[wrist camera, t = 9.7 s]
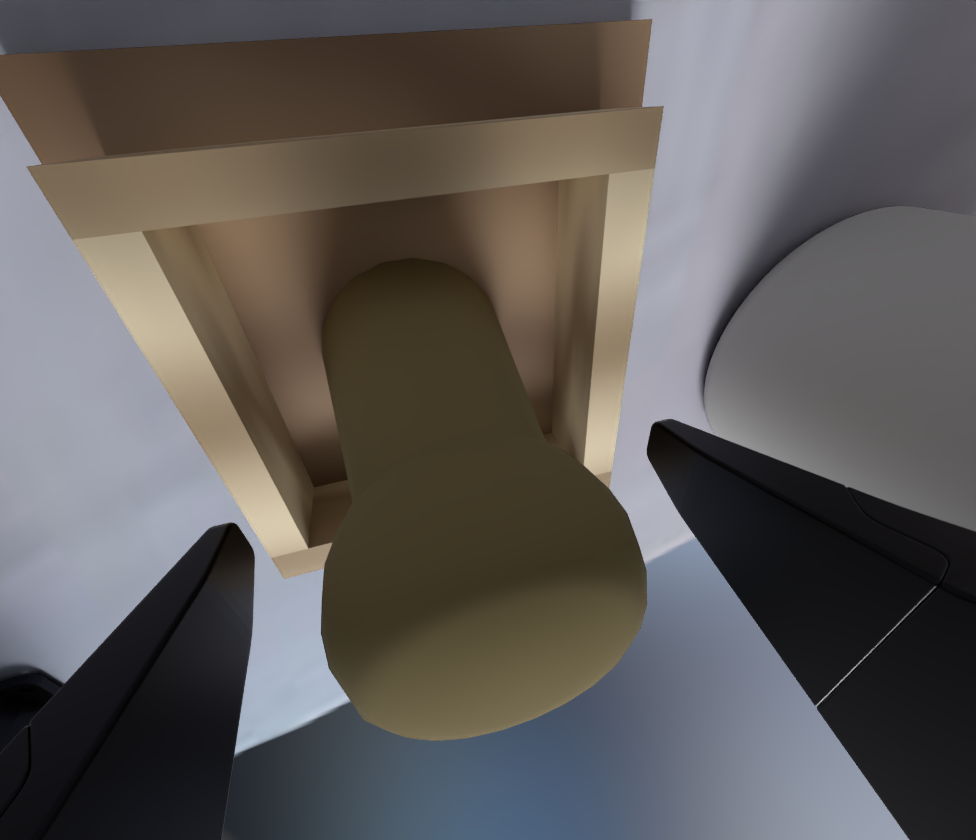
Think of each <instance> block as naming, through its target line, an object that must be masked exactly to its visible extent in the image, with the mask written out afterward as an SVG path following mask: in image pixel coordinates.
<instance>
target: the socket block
mask: <svg viewBox="0 0 976 840" xmlns="http://www.w3.org/2000/svg"><path fill="white" fill-rule="evenodd" d="M651 24H652V19H647V20H628V21H610V22H592V23H574V24H556V25H537V26H519V27H501V28H483V29H464V30H446V31H428V32H410V33H391V34H373V35H355V36H337V37H318V38H300V39H282V40H264V41H245V42H227V43H209V44H191V45H173V46H154V47H136V48H118V49H100V50H81V51H63V52H45V53H27V54H8V55H0V96H1V97H2V99H3V101H4V102H5V104H6V105H7V107H8V109H9V110H10V112H11V114H12V115H13V117H14V119H15V120H16V122H17V124H18V125H19V127H20V129H21V130H22V132H23V134H24V135H25V137H26V139H27V140H28V142H29V144H30V145H31V147H32V149H33V150H34V152H35V154H36V155H37V157H38V158H39V160H40V162H41V163H42V165H36V166H28V167H27V168H28V170H29V172H30V173H31V175H32V176H33V178H34V180H35V181H36V183H37V184H38V186H39V188H40V189H41V191H42V192H43V194H44V196H45V197H46V199H47V200H48V202H49V204H50V205H51V207H52V208H53V210H54V212H55V213H56V215H57V216H58V218H59V220H60V221H61V223H62V224H63V226H64V228H65V229H66V231H67V232H68V234H69V236H70V237H71V239H72V240H73V242H74V244H75V245H76V247H77V248H78V250H79V252H80V253H81V255H82V256H83V258H84V260H85V261H86V263H87V264H88V266H89V268H90V269H91V271H92V272H93V274H94V276H95V277H96V279H97V280H98V282H99V284H100V285H101V287H102V288H103V290H104V292H105V293H106V295H107V296H108V298H109V300H110V301H111V303H112V304H113V306H114V308H115V309H116V311H117V312H118V314H119V316H120V317H121V319H122V320H123V322H124V324H125V325H126V327H127V328H128V330H129V332H130V333H131V335H132V336H133V338H134V340H135V341H136V343H137V344H138V346H139V348H140V349H141V351H142V352H143V354H144V356H145V357H146V359H147V360H148V362H149V364H150V365H151V367H152V368H153V370H154V372H155V373H156V375H157V376H158V378H159V380H160V381H161V383H162V384H163V386H164V388H165V389H166V391H167V392H168V394H169V396H170V397H171V399H172V400H173V402H174V404H175V405H176V407H177V408H178V410H179V412H180V413H181V415H182V416H183V418H184V420H185V421H186V423H187V424H188V426H189V428H190V429H191V431H192V432H193V434H194V436H195V437H196V439H197V440H198V442H199V444H200V445H201V447H202V448H203V450H204V452H205V453H206V455H207V456H208V458H209V460H210V461H211V463H212V464H213V466H214V468H215V469H216V471H217V472H218V474H219V476H220V477H221V479H222V480H223V482H224V484H225V485H226V487H227V488H228V490H229V492H230V493H231V495H232V496H233V498H234V500H235V501H236V503H237V504H238V506H239V508H240V509H241V511H242V512H243V514H244V516H245V517H246V519H247V520H248V522H249V524H250V525H251V527H252V528H253V530H254V532H255V533H256V535H257V537H258V538H259V540H260V541H261V543H262V545H263V546H264V548H265V549H266V551H267V553H268V554H269V556H270V557H271V559H272V561H273V562H274V564H275V565H276V567H277V569H278V570H279V572H280V573H281V575H282V577H283V578H284V579H286V578H289V577H293V576H297V575H301V574H305V573H308V572H312V571H316V570H320V569H323V568H324V564H325V561H326V559H327V556H328V553H329V551H330V548H331V545H332V543H333V540H334V537H335V535H336V532H337V531H338V529H339V527H340V525H341V523H342V521H343V519H344V518H345V516H346V514H347V512H348V510H349V508H350V506H351V505H352V503H353V502H352V497H351V492H350V487H349V482H348V478H347V473H346V468H345V463H344V458H343V453H342V449H341V444H340V439H339V434H338V429H337V424H336V420H335V415H334V410H333V405H332V400H331V395H330V391H329V386H328V381H327V376H326V371H325V366H324V362H323V357H322V327H323V324H324V322H325V319H326V317H327V314H328V312H329V309H330V307H331V304H332V302H333V300H334V299H335V297H336V296H337V295H338V294H339V293H340V292H341V291H342V290H343V289H344V288H345V287H346V285H347V284H348V283H349V282H350V281H351V280H352V279H353V278H354V277H355V276H357V275H359V274H361V273H363V272H365V271H367V270H369V269H371V268H373V267H374V266H376V265H378V264H380V263H382V262H388V261H395V260H401V259H408V258H419V259H425V260H430V261H436V262H442V263H445V264H447V265H449V266H451V267H453V268H455V269H456V270H458V271H460V272H462V273H464V274H466V275H467V276H469V277H471V279H472V280H473V281H474V282H475V283H476V284H477V285H478V286H479V287H480V288H481V290H482V291H483V292H484V293H485V294H486V295H487V296H488V297H489V300H490V302H491V304H492V307H493V309H494V311H495V314H496V316H497V318H498V321H499V323H500V326H501V328H502V331H503V333H504V336H505V339H506V341H507V344H508V346H509V349H510V351H511V354H512V356H513V359H514V362H515V364H516V367H517V369H518V372H519V374H520V377H521V379H522V382H523V385H524V387H525V390H526V392H527V395H528V397H529V400H530V403H531V405H532V408H533V410H534V413H535V415H536V418H537V420H538V423H539V426H540V428H541V431H542V433H543V436H544V438H545V441H546V443H547V444H550V445H553V446H556V447H558V448H561V449H563V450H564V451H566V452H567V453H568V454H570V455H571V456H572V457H573V458H575V459H576V460H577V461H579V462H580V463H581V464H583V465H584V466H585V467H586V468H587V469H588V470H589V471H590V472H592V473H593V474H594V475H595V476H596V477H597V478H598V479H599V480H600V481H601V482H603V483H604V484H605V485H606V486H607V487H608V488H609V486H610V479H611V472H612V465H613V458H614V451H615V444H616V437H617V430H618V423H619V416H620V409H621V402H622V395H623V388H624V381H625V374H626V367H627V360H628V353H629V346H630V339H631V332H632V325H633V318H634V310H635V303H636V296H637V289H638V282H639V275H640V268H641V261H642V254H643V247H644V240H645V233H646V226H647V219H648V212H649V205H650V198H651V191H652V184H653V177H654V170H655V163H656V156H657V149H658V142H659V135H660V128H661V121H662V114H663V107H664V106H660V107H642V101H643V92H644V84H645V75H646V67H647V58H648V50H649V41H650V33H651Z"/></svg>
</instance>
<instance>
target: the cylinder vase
mask: <svg viewBox="0 0 976 840" xmlns="http://www.w3.org/2000/svg"><path fill="white" fill-rule="evenodd" d="M704 407H705V413H706V417H707V421H708V423H709V426H710V428H711V430H712V431H713V433H714V434H715V436H718V437H720V438H723V439H725V440H728V441H731V442H733V443H736V444H739V445H741V446H744V447H746V448H749V449H752V450H754V451H757V452H759V453H762V454H765V455H767V456H770V457H772V458H775V459H778V460H780V461H783V462H786V463H788V464H791V465H793V466H796V467H799V468H801V469H804V470H806V471H809V472H812V473H814V474H817V475H819V476H822V477H825V478H827V479H830V480H832V481H835V482H838V483H840V484H843V485H845V487H851V488H854V489H856V490H859V491H861V492H864V493H866V494H869V495H872V496H874V497H877V498H880V499H882V500H885V501H888V502H891V503H893V504H896V505H899V506H902V507H904V508H907V509H910V510H913V511H916V512H919V513H922V514H925V515H928V516H931V517H934V518H937V519H940V520H943V521H946V522H949V523H952V524H955V525H958V526H961V527H964V528H967V529H970V530H973V531H976V216H973V215H967V214H960V213H953V212H947V211H940V210H933V209H927V208H920V207H912V206H892V207H885V208H879V209H874V210H870V211H867V212H863V213H860V214H857V215H855V216H852V217H849V218H847V219H845V220H842V221H840V222H838V223H836V224H834V225H832V226H830V227H828V228H827V229H825V230H823V231H821V232H820V233H818V234H816V235H815V236H813V237H812V238H810V239H809V240H807V241H806V242H804V243H803V244H802V245H800V246H799V247H798V248H796V249H795V250H794V251H792V252H791V253H790V254H789V255H787V256H786V257H785V258H784V259H783V260H782V261H780V262H779V263H778V264H777V265H776V266H775V267H774V268H773V269H772V270H771V271H770V272H769V273H768V274H767V275H766V276H765V277H764V278H763V279H762V280H761V281H760V282H759V283H758V284H757V285H756V287H755V288H754V289H753V290H752V291H751V292H750V294H749V295H748V296H747V297H746V299H745V300H744V301H743V303H742V304H741V305H740V307H739V308H738V309H737V311H736V312H735V314H734V315H733V317H732V318H731V320H730V322H729V323H728V325H727V327H726V328H725V330H724V332H723V334H722V336H721V338H720V340H719V342H718V344H717V346H716V348H715V351H714V353H713V356H712V358H711V361H710V364H709V368H708V371H707V376H706V381H705V388H704Z"/></svg>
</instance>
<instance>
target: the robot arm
mask: <svg viewBox="0 0 976 840" xmlns="http://www.w3.org/2000/svg"><path fill="white" fill-rule="evenodd" d="M647 456H648V459H649V461H650V463H651V464H652V466H653V468H654V470H655V472H656V473H657V475H658V477H659V479H660V481H661V482H662V484H663V486H664V488H665V489H666V491H667V493H668V495H669V497H670V498H671V500H672V502H673V504H674V505H675V507H676V509H677V510H678V512H679V514H680V515H681V517H682V518H683V520H684V521H685V523H686V524H687V525H688V527H689V528H690V530H691V531H692V533H693V534H694V535H695V537H696V538H697V540H698V541H699V542H700V544H701V545H702V547H703V548H704V550H705V551H706V552H707V554H708V555H709V557H710V558H711V559H712V561H713V562H714V564H715V565H716V566H717V568H718V569H719V571H720V572H721V574H722V575H723V576H724V578H725V579H726V580H727V582H728V583H729V585H730V586H731V588H732V589H733V590H734V592H735V593H736V595H737V596H738V598H739V599H740V600H741V602H742V603H743V605H744V606H745V607H746V609H747V610H748V612H749V613H750V615H751V616H752V617H753V619H754V620H755V621H756V623H757V624H758V626H759V627H760V629H761V630H762V631H763V633H764V634H765V636H766V637H767V639H768V640H769V641H770V643H771V644H772V646H773V647H774V648H775V650H776V651H777V653H778V654H779V656H780V657H781V658H782V660H783V661H784V663H785V664H786V665H787V667H788V668H789V670H790V671H791V673H792V674H793V675H794V677H795V678H796V680H797V681H798V682H799V684H800V685H801V687H802V688H803V689H804V691H805V692H806V694H807V695H808V697H809V698H810V699H811V701H812V702H813V704H814V705H815V706H817V710H818V711H819V713H820V714H821V715H822V717H823V718H824V720H825V721H826V722H827V724H828V725H829V727H830V728H831V729H832V731H833V732H834V734H835V735H836V737H837V738H838V739H839V741H840V742H841V744H842V745H843V746H844V748H845V749H846V751H847V752H848V754H849V755H850V756H851V758H852V759H853V761H854V762H855V763H856V765H857V766H858V768H859V769H860V770H861V772H862V773H863V775H864V776H865V777H866V779H867V780H868V782H869V783H870V785H871V786H872V787H873V789H874V790H875V792H876V793H877V795H878V796H879V797H880V798H881V800H882V801H883V803H884V804H885V806H886V807H887V809H888V810H889V811H890V813H891V814H892V816H893V817H894V819H895V820H896V821H897V823H898V824H899V826H900V827H901V828H902V830H903V831H904V833H905V834H906V835H907V837H908V838H909V840H976V531H973V530H970V529H967V528H964V527H961V526H958V525H955V524H952V523H949V522H946V521H943V520H940V519H937V518H934V517H931V516H928V515H925V514H922V513H919V512H916V511H913V510H910V509H907V508H904V507H902V506H899V505H896V504H893V503H891V502H888V501H885V500H882V499H880V498H877V497H874V496H872V495H869V494H866V493H864V492H861V491H859V490H856V489H854V488H851V487H845V485H843V484H840V483H838V482H835V481H832V480H830V479H827V478H825V477H822V476H819V475H817V474H814V473H812V472H809V471H806V470H804V469H801V468H799V467H796V466H793V465H791V464H788V463H786V462H783V461H780V460H778V459H775V458H772V457H770V456H767V455H765V454H762V453H759V452H757V451H754V450H752V449H749V448H746V447H744V446H741V445H739V444H736V443H733V442H731V441H728V440H725V439H723V438H720V437H718V436H715V435H712V434H710V433H707V432H705V431H702V430H699V429H697V428H694V427H692V426H689V425H686V424H684V423H681V422H678V421H676V420H673V419H666V420H662V421H658V422H655V423H654V424H653V425H652V427H651V431H650V436H649V441H648V446H647ZM254 567H255V556H254V551H253V549H252V547H251V545H250V543H249V542H248V540H247V539H246V537H245V536H244V534H243V533H242V531H241V530H240V528H239V527H238V526H237V524H235V523H226V524H222V525H217V526H213V527H211V528H209V529H208V530H207V531H206V532H205V533H204V534H203V535H202V536H201V537H200V538H199V540H198V541H197V542H196V543H195V544H194V545H193V546H192V547H191V548H190V549H189V550H188V551H187V552H186V554H185V555H184V556H183V557H182V558H181V559H180V560H179V561H178V562H177V563H176V564H175V565H174V566H173V568H172V569H171V570H170V571H169V572H168V573H167V574H166V575H165V576H164V577H163V578H162V579H161V580H160V582H159V583H158V584H157V585H156V586H155V587H154V588H153V589H152V590H151V591H150V592H149V593H148V594H147V596H146V597H145V598H144V599H143V600H142V601H141V602H140V603H139V604H138V605H137V606H136V607H135V608H134V610H133V611H132V612H131V613H130V614H129V615H128V616H127V617H126V618H125V619H124V620H123V621H122V622H121V624H120V625H119V626H118V627H117V628H116V629H115V630H114V631H113V632H112V633H111V634H110V635H109V636H108V638H107V639H106V640H105V641H104V642H103V643H102V644H101V645H100V646H99V647H98V648H97V649H96V650H95V652H94V653H93V654H92V655H91V656H90V657H89V658H88V659H87V660H86V661H85V662H84V663H83V664H82V666H81V667H80V668H79V669H78V670H77V671H76V672H75V673H74V674H73V675H72V676H71V677H70V678H69V680H68V681H67V682H66V683H65V684H64V685H63V686H62V687H59V686H58V685H56V684H55V683H53V682H51V681H50V680H48V679H47V678H45V677H43V676H41V675H35V674H29V675H24V676H20V677H16V678H13V679H9V680H5V681H2V682H0V840H221V837H222V831H223V825H224V818H225V812H226V805H227V799H228V792H229V785H230V778H231V772H232V765H233V759H234V752H235V746H236V739H237V732H238V726H239V719H240V713H241V706H242V699H243V693H244V686H245V680H246V673H247V666H248V660H249V653H250V646H251V638H252V627H253V600H254Z"/></svg>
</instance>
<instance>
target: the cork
mask: <svg viewBox="0 0 976 840" xmlns="http://www.w3.org/2000/svg"><path fill="white" fill-rule="evenodd" d="M322 357H323V362H324V366H325V371H326V376H327V381H328V386H329V391H330V395H331V400H332V405H333V410H334V415H335V420H336V424H337V429H338V434H339V439H340V444H341V449H342V453H343V458H344V463H345V468H346V473H347V478H348V482H349V487H350V492H351V497H352V502H353V503H352V505H351V506H350V508H349V510H348V512H347V514H346V516H345V518H344V519H343V521H342V523H341V525H340V527H339V529H338V531H337V532H336V535H335V537H334V540H333V543H332V545H331V548H330V551H329V553H328V556H327V559H326V561H325V564H324V578H323V591H322V613H321V636H322V640H323V644H324V649H325V653H326V657H327V662H328V666H329V669H330V671H331V672H332V674H333V675H334V677H335V678H336V680H337V681H338V683H339V684H340V686H341V687H342V689H343V690H344V692H345V693H346V695H347V696H348V698H349V699H350V701H351V702H352V703H353V705H354V706H355V708H356V709H357V711H358V712H359V714H360V715H361V717H362V718H363V720H365V721H367V722H369V723H372V724H374V725H376V726H378V727H380V728H383V729H385V730H387V731H389V732H392V733H395V734H398V735H401V736H404V737H407V738H415V739H423V740H433V741H439V740H451V739H462V738H470V737H475V736H479V735H483V734H488V733H492V732H496V731H501V730H503V729H506V728H509V727H512V726H515V725H518V724H521V723H523V722H526V721H529V720H532V719H535V718H537V717H539V716H541V715H543V714H545V713H547V712H549V711H551V710H553V709H555V708H557V707H559V706H561V705H563V704H565V703H567V702H569V701H570V700H572V699H573V698H575V697H576V696H578V695H579V694H581V693H582V692H584V691H585V690H587V689H589V688H590V687H592V686H593V685H594V684H595V683H597V682H598V681H599V680H600V679H601V678H602V677H603V676H604V675H606V674H607V673H608V672H609V671H610V670H611V669H612V668H613V667H615V666H616V664H617V663H618V661H619V660H620V659H621V657H622V656H623V654H624V653H625V652H626V650H627V649H628V647H629V646H630V645H631V643H632V641H633V640H634V638H635V636H636V634H637V633H638V631H639V629H640V628H641V625H642V621H643V617H644V613H645V610H646V606H647V580H646V579H647V578H646V576H647V575H646V567H645V564H644V561H643V557H642V554H641V551H640V547H639V544H638V541H637V539H636V536H635V533H634V531H633V528H632V525H631V522H630V520H629V517H628V514H627V512H626V511H625V510H624V508H623V507H622V506H621V504H620V503H619V502H618V500H617V499H616V498H615V496H614V495H613V494H612V492H611V491H610V489H609V488H608V487H607V486H606V485H605V484H604V483H603V482H601V481H600V480H599V479H598V478H597V477H596V476H595V475H594V474H593V473H592V472H590V471H589V470H588V469H587V468H586V467H585V466H584V465H583V464H581V463H580V462H579V461H577V460H576V459H575V458H573V457H572V456H571V455H570V454H568V453H567V452H566V451H564V450H563V449H561V448H558V447H556V446H553V445H550V444H547V443H546V441H545V438H544V436H543V433H542V431H541V428H540V426H539V423H538V420H537V418H536V415H535V413H534V410H533V408H532V405H531V403H530V400H529V397H528V395H527V392H526V390H525V387H524V385H523V382H522V379H521V377H520V374H519V372H518V369H517V367H516V364H515V362H514V359H513V356H512V354H511V351H510V349H509V346H508V344H507V341H506V339H505V336H504V333H503V331H502V328H501V326H500V323H499V321H498V318H497V316H496V314H495V311H494V309H493V307H492V304H491V302H490V300H489V297H488V296H487V295H486V294H485V293H484V292H483V291H482V290H481V288H480V287H479V286H478V285H477V284H476V283H475V282H474V281H473V280H472V279H471V277H469V276H467V275H466V274H464V273H462V272H460V271H458V270H456V269H455V268H453V267H451V266H449V265H447V264H445V263H442V262H436V261H430V260H425V259H419V258H408V259H401V260H395V261H388V262H382V263H380V264H378V265H376V266H374V267H373V268H371V269H369V270H367V271H365V272H363V273H361V274H359V275H357V276H355V277H354V278H353V279H352V280H351V281H350V282H349V283H348V284H347V285H346V287H345V288H344V289H343V290H342V291H341V292H340V293H339V294H338V295H337V296H336V297H335V299H334V300H333V302H332V304H331V307H330V309H329V312H328V314H327V317H326V319H325V322H324V324H323V327H322Z"/></svg>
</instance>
